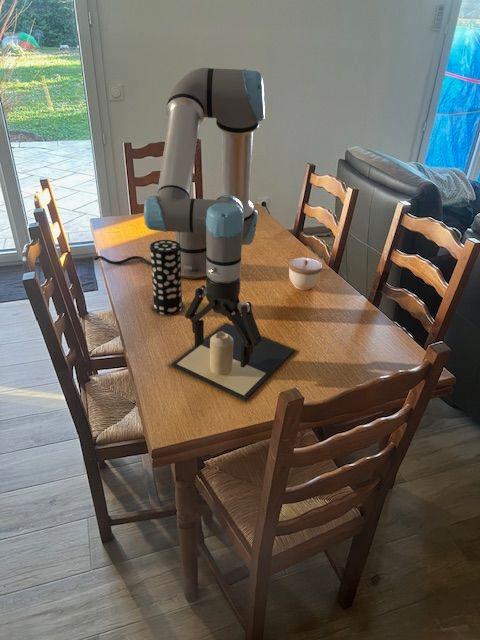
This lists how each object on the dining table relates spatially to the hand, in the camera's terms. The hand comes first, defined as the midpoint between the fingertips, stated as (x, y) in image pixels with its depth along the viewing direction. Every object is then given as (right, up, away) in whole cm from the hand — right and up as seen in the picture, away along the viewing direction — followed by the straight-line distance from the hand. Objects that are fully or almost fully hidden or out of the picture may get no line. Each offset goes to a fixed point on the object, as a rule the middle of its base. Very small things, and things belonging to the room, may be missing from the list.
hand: (221, 354), depth 113 cm
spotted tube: (-17, +12, +27) cm, 34 cm away
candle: (0, -4, +2) cm, 4 cm away
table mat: (+3, -2, +7) cm, 7 cm away
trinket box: (+26, +20, +42) cm, 53 cm away
